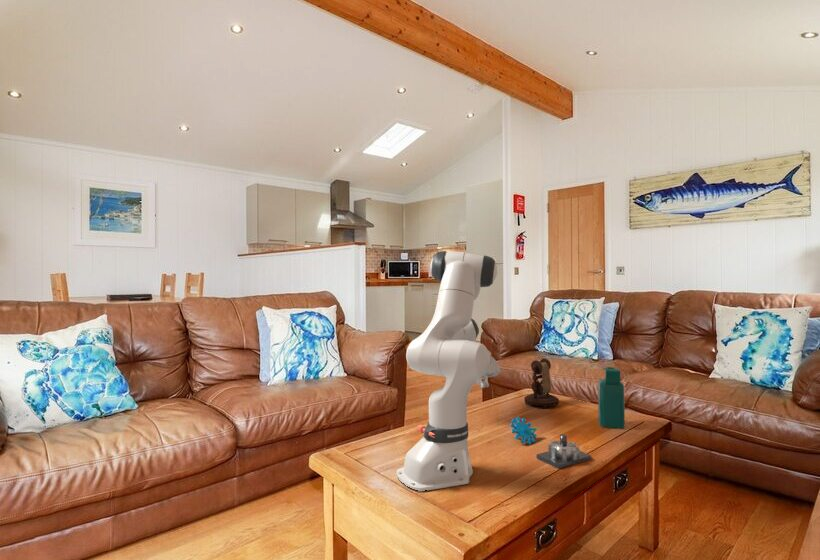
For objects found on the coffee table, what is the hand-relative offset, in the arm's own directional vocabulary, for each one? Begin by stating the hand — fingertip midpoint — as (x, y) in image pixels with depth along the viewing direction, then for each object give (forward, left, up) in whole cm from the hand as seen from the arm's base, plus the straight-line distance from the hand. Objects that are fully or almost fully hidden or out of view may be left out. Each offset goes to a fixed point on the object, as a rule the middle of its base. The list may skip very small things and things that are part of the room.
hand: (485, 386), depth 172 cm
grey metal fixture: (0, -39, -14) cm, 41 cm away
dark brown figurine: (+37, +8, -15) cm, 41 cm away
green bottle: (+39, -26, -14) cm, 49 cm away
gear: (0, -21, -15) cm, 26 cm away
